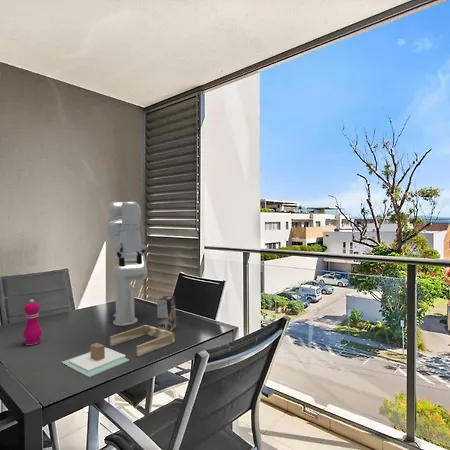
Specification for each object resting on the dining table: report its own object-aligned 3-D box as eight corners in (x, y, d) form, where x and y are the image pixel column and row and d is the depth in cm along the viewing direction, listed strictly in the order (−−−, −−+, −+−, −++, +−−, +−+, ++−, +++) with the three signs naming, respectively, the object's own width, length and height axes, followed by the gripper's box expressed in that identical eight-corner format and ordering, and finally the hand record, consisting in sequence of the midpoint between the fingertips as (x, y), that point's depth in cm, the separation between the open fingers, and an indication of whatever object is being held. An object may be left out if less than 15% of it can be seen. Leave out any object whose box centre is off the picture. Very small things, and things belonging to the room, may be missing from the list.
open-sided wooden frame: (109, 345, 147) (109, 336, 147) (146, 332, 163) (145, 324, 163) (138, 356, 135) (138, 347, 135) (174, 341, 151) (174, 333, 151)
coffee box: (169, 333, 162) (169, 300, 161) (157, 332, 163) (156, 299, 163) (176, 327, 171) (175, 295, 170) (164, 326, 172) (163, 295, 172)
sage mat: (61, 363, 130) (61, 362, 130) (100, 348, 143) (100, 348, 143) (89, 377, 118) (89, 376, 118) (129, 360, 131) (129, 359, 131)
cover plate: (68, 362, 129) (68, 347, 129) (105, 349, 142) (105, 335, 142) (88, 372, 121) (88, 356, 121) (125, 357, 134) (125, 342, 133)
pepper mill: (45, 341, 153) (44, 298, 153) (31, 347, 146) (30, 301, 146) (33, 339, 155) (32, 296, 155) (19, 345, 149) (18, 300, 148)
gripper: (140, 227, 164) (140, 262, 165) (109, 228, 150) (109, 266, 151) (150, 227, 160) (150, 263, 160) (119, 229, 146) (119, 268, 146)
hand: (130, 265), depth 155 cm, fingers open, 9 cm apart
